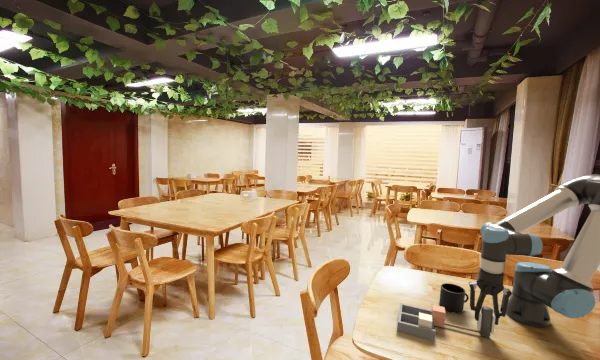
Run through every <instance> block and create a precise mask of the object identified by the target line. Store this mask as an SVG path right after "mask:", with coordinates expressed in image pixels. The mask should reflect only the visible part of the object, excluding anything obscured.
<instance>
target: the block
mask: <svg viewBox="0 0 600 360" xmlns="http://www.w3.org/2000/svg"><path fill="white" fill-rule="evenodd" d="M418 326H422V327H426V328H430V329H432V315H429V314H424V313H420V312H419V318H418Z"/></svg>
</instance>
